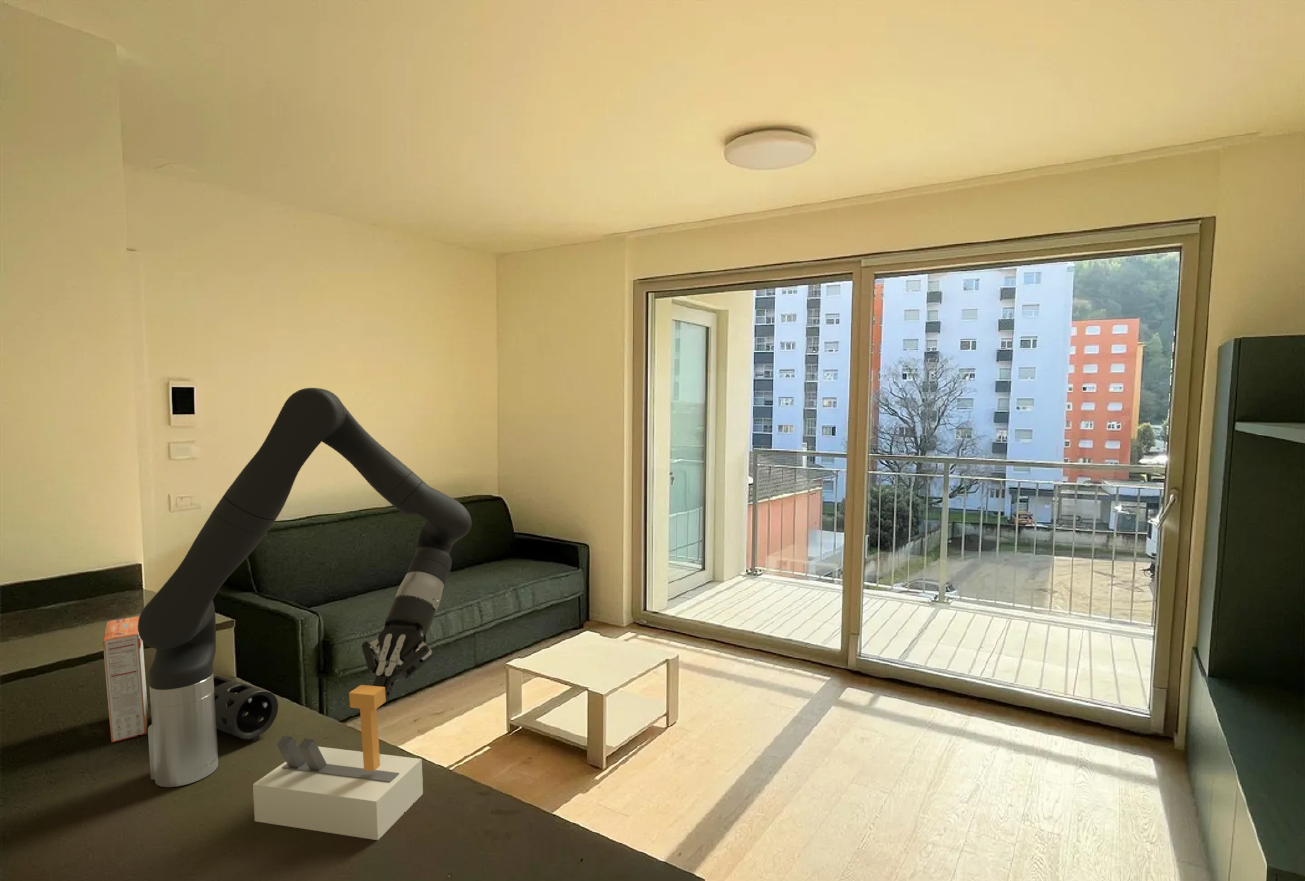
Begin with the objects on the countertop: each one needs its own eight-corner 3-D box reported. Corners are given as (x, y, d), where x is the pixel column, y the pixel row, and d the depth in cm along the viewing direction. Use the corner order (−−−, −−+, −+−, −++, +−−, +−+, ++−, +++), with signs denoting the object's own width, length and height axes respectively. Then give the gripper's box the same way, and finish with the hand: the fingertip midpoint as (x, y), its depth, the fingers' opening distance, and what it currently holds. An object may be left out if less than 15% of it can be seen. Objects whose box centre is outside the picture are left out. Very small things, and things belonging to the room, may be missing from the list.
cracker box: (112, 717, 140) (106, 620, 139) (148, 709, 144) (142, 614, 142) (108, 744, 129) (101, 639, 128) (147, 735, 132) (140, 632, 131)
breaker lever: (354, 771, 105) (349, 692, 104) (365, 761, 108) (360, 684, 106) (378, 774, 104) (373, 695, 103) (389, 764, 107) (385, 687, 105)
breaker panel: (254, 821, 104) (251, 748, 103) (310, 778, 116) (307, 712, 115) (377, 840, 99) (374, 763, 99) (423, 793, 111) (420, 724, 110)
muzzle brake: (232, 754, 125) (229, 700, 124) (153, 722, 138) (150, 674, 137) (281, 731, 133) (278, 681, 132) (202, 703, 146) (199, 657, 146)
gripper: (372, 591, 116) (328, 690, 105) (441, 595, 114) (403, 696, 102) (392, 611, 122) (352, 707, 111) (457, 615, 119) (423, 713, 108)
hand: (376, 701), depth 107 cm, fingers closed
